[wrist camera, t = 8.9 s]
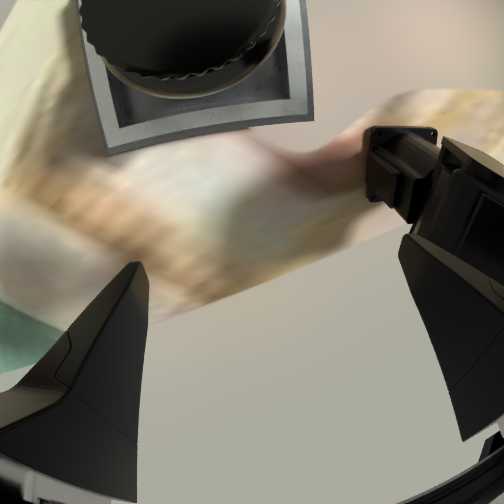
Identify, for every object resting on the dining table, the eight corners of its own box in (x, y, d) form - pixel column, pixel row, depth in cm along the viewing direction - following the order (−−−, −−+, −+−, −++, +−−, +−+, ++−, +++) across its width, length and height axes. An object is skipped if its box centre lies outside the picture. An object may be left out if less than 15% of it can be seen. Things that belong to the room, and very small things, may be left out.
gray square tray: (292, -62, 10) (304, -77, 8) (309, 117, 19) (324, 128, 17) (79, -24, 10) (60, -32, 8) (112, 150, 19) (99, 166, 16)
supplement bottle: (197, 102, 17) (176, 178, 7) (119, 39, 13) (-3, 42, 4) (278, 30, 14) (377, 7, 5) (200, -37, 11) (185, -140, 1)
